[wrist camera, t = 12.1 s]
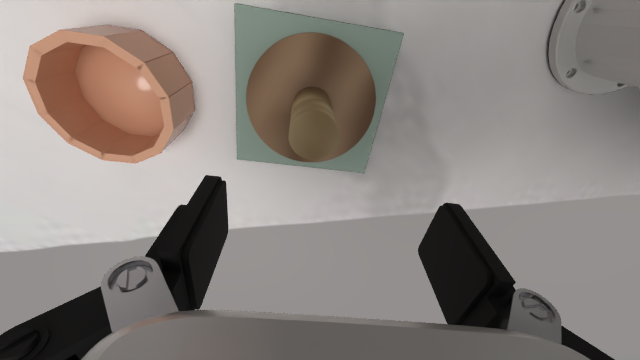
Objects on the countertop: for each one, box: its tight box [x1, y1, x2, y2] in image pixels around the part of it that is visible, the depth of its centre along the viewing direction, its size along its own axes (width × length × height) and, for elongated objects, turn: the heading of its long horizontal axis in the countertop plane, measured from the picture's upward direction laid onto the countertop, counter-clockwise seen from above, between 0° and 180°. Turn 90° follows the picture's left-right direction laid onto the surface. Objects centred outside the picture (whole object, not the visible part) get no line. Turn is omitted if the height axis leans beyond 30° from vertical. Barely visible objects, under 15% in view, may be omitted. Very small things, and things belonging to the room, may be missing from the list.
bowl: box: [23, 25, 195, 163], centre depth 23 cm, size 10×10×5 cm
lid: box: [246, 32, 376, 162], centre depth 22 cm, size 12×12×8 cm
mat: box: [234, 4, 404, 173], centre depth 26 cm, size 14×14×1 cm
